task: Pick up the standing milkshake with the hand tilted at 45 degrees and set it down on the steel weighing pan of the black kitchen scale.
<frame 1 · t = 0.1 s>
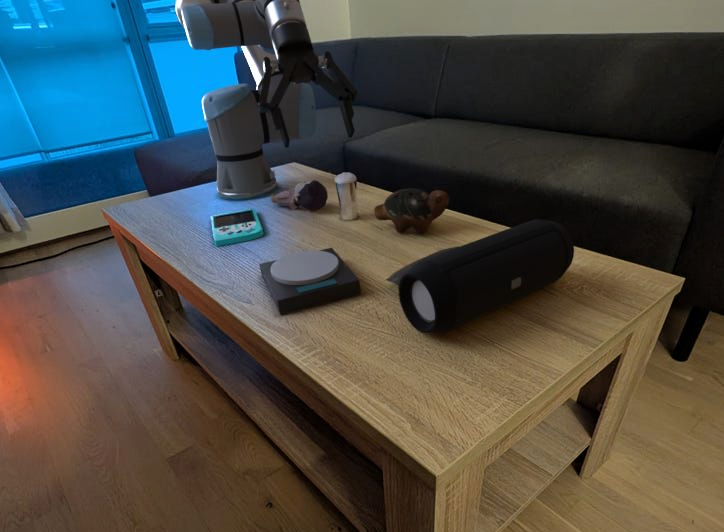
hand: (320, 139, 90), 15 cm above the table, tool tilted 35°, fingers open, 13 cm apart
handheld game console: (236, 229, 96), on the table
figurine: (299, 210, 103), on the table
milkshake: (347, 218, 97), on the table
portable speaker: (486, 306, 65), on the table
scale: (309, 285, 74), on the table
decorative turtle: (411, 229, 90), on the table
decorative stone: (437, 281, 72), on the table
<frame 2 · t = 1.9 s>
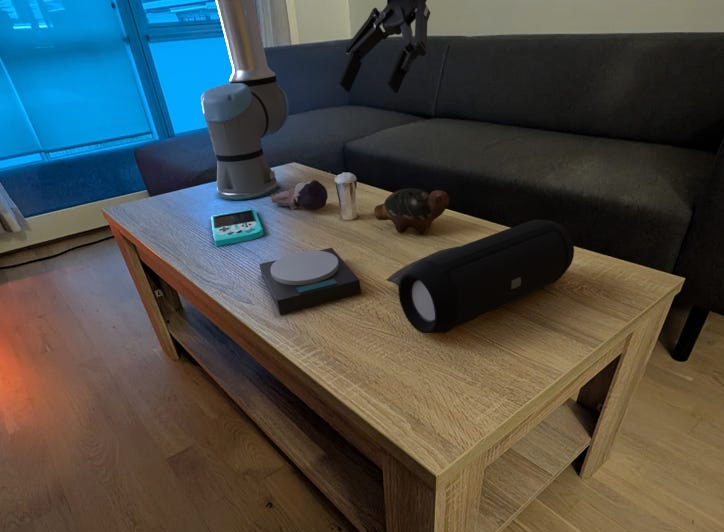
hand: (366, 88, 89), 23 cm above the table, tool tilted 45°, fingers open, 13 cm apart
nothing on the table moved.
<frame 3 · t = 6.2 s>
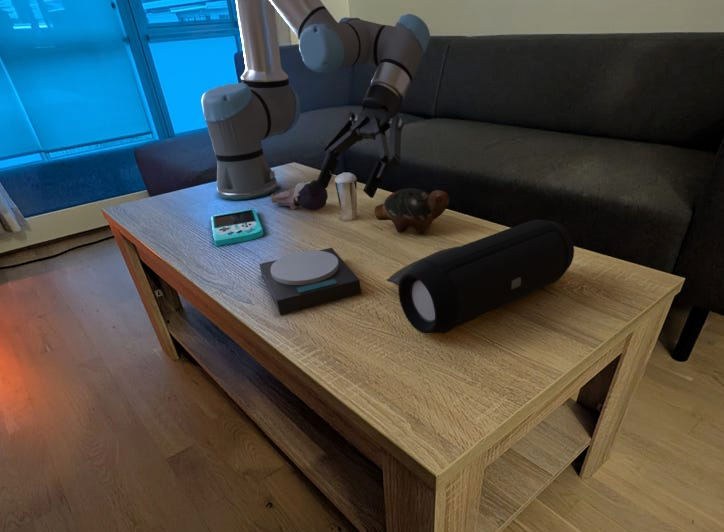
hand: (343, 189, 93), 6 cm above the table, tool tilted 45°, fingers open, 13 cm apart
figurine: (299, 210, 103), on the table, touching gripper
everything else where it was.
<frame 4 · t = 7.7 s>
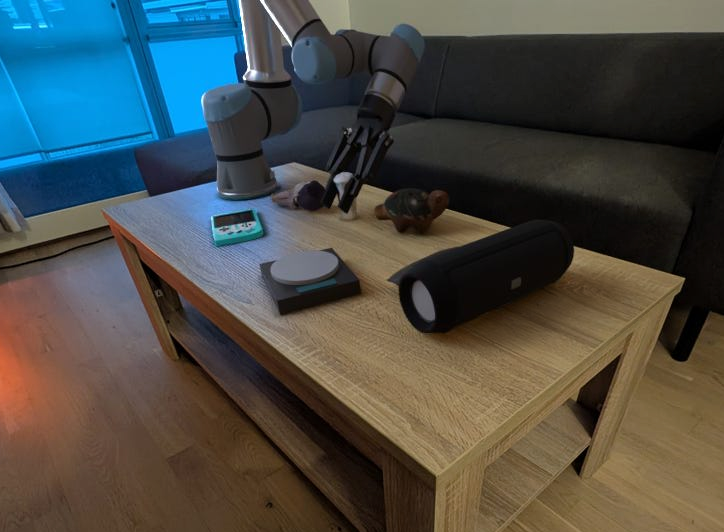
hand: (333, 207, 93), 3 cm above the table, tool tilted 45°, fingers closed on milkshake, 5 cm apart
figurine: (299, 210, 103), on the table
milkshake: (348, 218, 97), on the table, touching gripper
everything else where it was.
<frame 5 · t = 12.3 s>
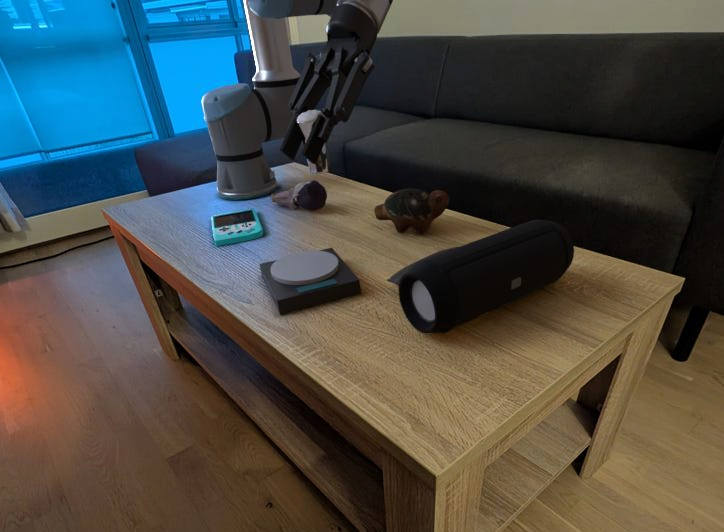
hand: (297, 156, 71), 17 cm above the table, tool tilted 45°, fingers closed on milkshake, 5 cm apart
milkshake: (318, 173, 76), point 14 cm above the table, touching gripper
everything else where it was.
when the fingers open (7 cm above the table, at t = 17.1 s): milkshake stays where it is, resting on scale.
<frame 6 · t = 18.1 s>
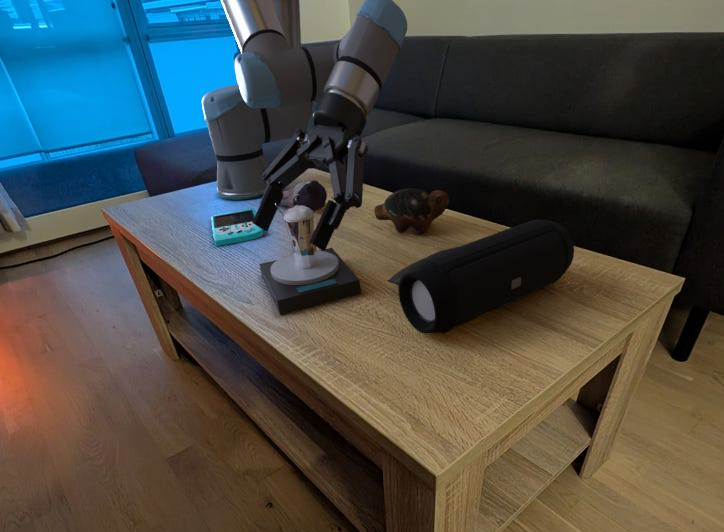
hand: (286, 236, 68), 9 cm above the table, tool tilted 45°, fingers open, 13 cm apart
milkshake: (305, 265, 72), point 3 cm above the table, touching scale
everything else where it was.
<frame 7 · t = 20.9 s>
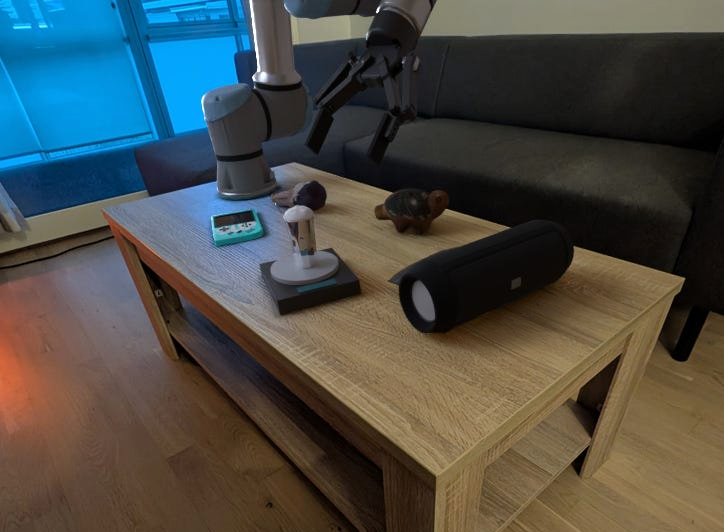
hand: (340, 154, 70), 18 cm above the table, tool tilted 45°, fingers open, 13 cm apart
nothing on the table moved.
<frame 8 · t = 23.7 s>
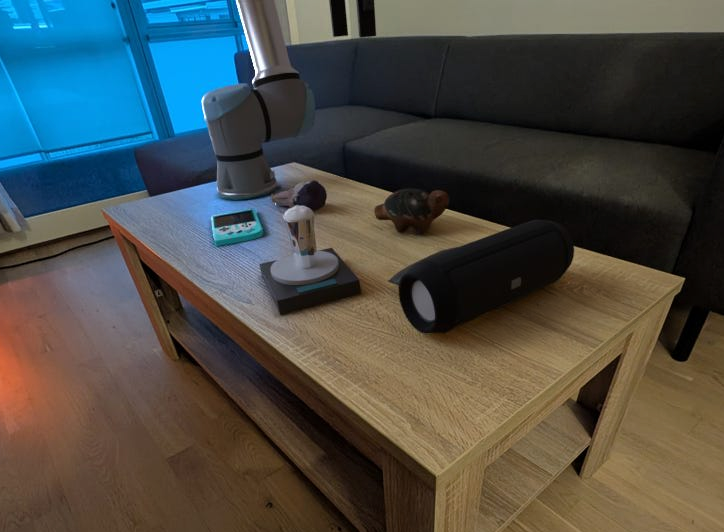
hand: (353, 36, 77), 32 cm above the table, tool pointing down, fingers open, 13 cm apart
nothing on the table moved.
at the end: milkshake inside the target area on the scale (0.1 cm from its centre), point 3.1 cm above the scale's base; milkshake tilted 0°; the gripper is holding nothing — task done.
